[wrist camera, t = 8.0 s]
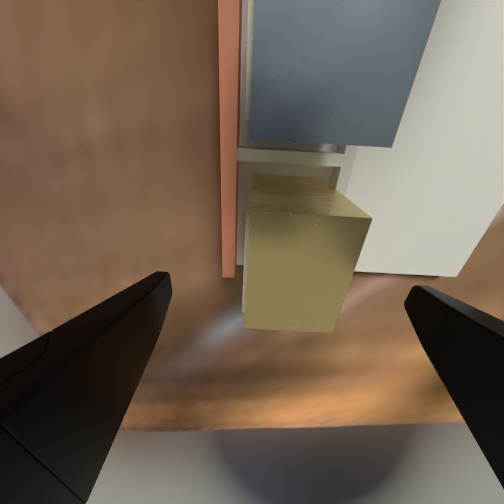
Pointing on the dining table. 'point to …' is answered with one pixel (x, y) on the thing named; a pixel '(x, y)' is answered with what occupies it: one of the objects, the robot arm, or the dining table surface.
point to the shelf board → (390, 159)
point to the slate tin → (333, 68)
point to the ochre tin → (298, 253)
